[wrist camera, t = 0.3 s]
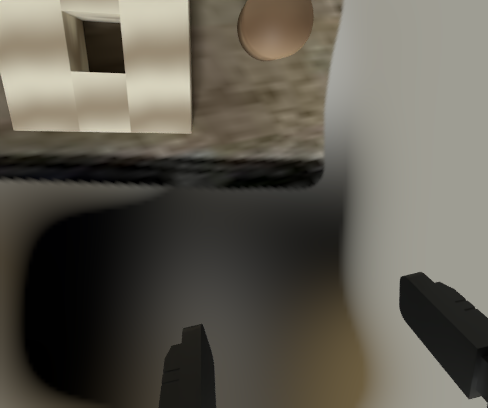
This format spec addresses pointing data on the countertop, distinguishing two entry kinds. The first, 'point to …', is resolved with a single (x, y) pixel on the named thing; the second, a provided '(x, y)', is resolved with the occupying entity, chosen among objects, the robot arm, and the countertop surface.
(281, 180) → the countertop surface
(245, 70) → the countertop surface
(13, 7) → the birch block
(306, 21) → the walnut peg
